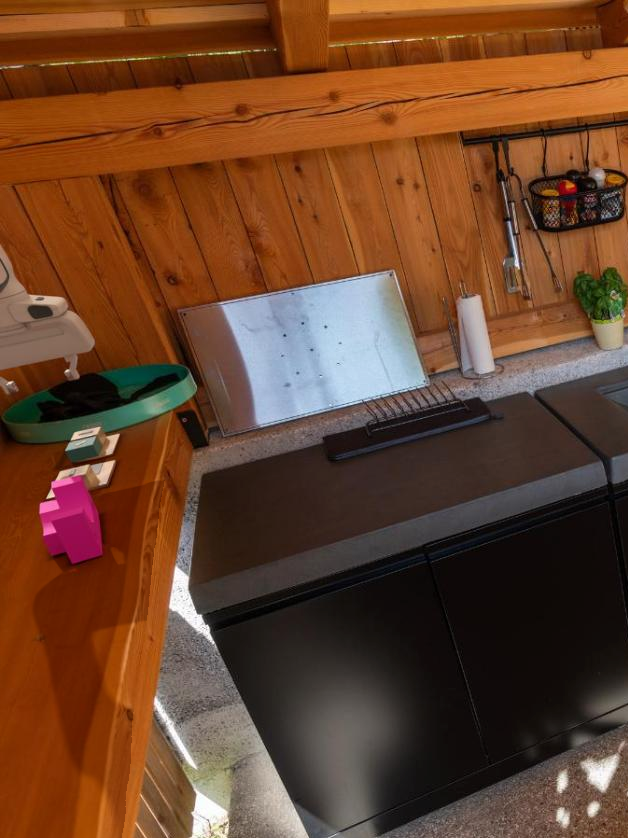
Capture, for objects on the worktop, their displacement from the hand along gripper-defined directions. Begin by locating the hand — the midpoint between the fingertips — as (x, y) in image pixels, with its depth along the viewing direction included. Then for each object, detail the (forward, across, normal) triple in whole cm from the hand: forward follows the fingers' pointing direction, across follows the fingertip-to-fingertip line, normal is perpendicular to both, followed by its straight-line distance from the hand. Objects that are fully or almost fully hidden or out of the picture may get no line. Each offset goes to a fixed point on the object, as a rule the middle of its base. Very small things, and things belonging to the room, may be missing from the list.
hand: (44, 385), depth 139 cm
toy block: (+15, +5, -37) cm, 40 cm away
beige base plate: (+16, +1, -11) cm, 19 cm away
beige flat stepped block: (+16, 0, +4) cm, 16 cm away
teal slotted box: (+15, 0, +1) cm, 15 cm away
